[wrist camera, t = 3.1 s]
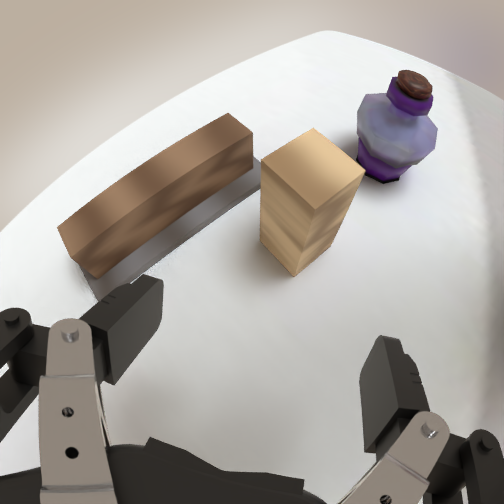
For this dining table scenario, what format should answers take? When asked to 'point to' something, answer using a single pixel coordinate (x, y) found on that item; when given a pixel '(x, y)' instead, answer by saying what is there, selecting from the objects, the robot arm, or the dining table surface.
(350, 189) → the wooden block
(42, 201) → the dining table surface
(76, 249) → the chalkboard eraser
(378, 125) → the potion bottle
